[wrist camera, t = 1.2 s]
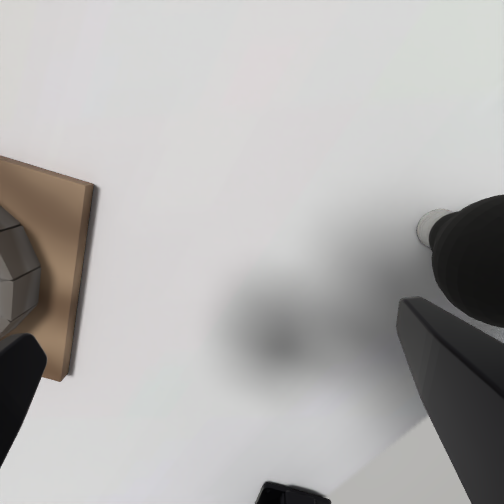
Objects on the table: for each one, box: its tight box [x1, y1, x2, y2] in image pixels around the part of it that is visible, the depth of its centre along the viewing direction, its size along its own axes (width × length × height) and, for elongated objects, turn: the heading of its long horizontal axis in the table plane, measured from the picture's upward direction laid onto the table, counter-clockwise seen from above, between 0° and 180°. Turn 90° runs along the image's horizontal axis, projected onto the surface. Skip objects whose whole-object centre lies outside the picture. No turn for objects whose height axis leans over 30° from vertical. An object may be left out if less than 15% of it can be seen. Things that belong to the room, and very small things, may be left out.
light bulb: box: [417, 195, 504, 328], centre depth 16 cm, size 6×6×10 cm
